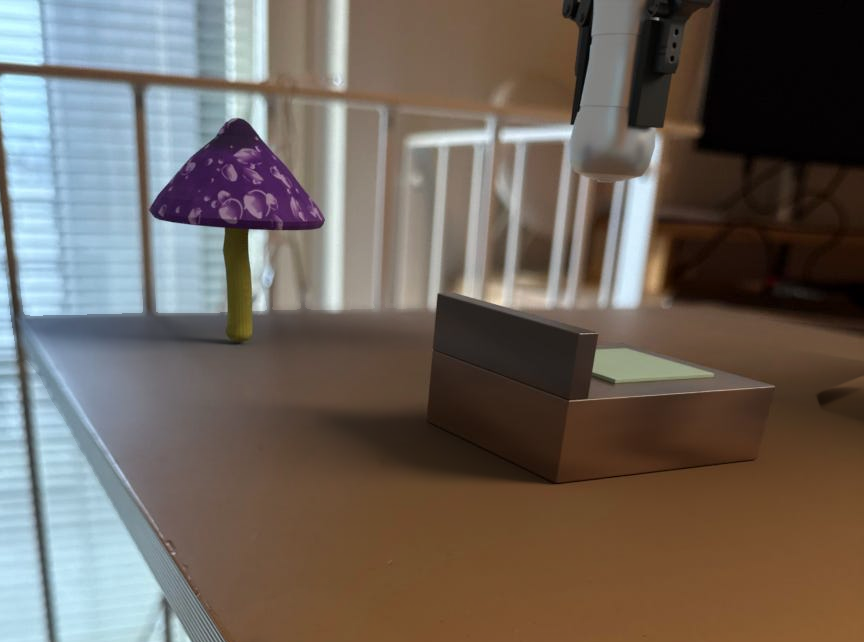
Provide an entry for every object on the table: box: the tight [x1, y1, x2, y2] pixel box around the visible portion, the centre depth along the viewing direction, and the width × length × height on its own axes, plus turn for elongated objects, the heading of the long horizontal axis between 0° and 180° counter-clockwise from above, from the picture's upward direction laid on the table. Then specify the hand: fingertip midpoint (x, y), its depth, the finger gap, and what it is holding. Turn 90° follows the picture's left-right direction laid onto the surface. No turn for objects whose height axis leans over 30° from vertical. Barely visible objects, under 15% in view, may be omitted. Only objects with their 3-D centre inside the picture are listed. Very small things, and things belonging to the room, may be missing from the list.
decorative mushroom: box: [148, 117, 326, 344], centre depth 69 cm, size 12×12×15 cm
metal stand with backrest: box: [426, 292, 776, 484], centre depth 52 cm, size 14×12×7 cm
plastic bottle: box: [569, 0, 659, 184], centre depth 70 cm, size 6×7×20 cm
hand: (615, 125), depth 73 cm, fingers closed on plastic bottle, 6 cm apart
